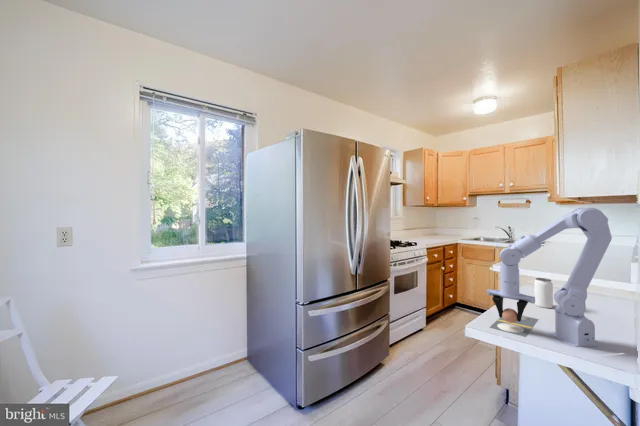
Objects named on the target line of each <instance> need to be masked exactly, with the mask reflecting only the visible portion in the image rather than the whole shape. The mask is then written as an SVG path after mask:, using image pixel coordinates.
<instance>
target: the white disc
mask: <svg viewBox="0 0 640 426" xmlns="http://www.w3.org/2000/svg"><path fill="white" fill-rule="evenodd" d="M497 327H498V328H499V329H501V330H504V331H507V332H506V333H508V332H512V333H522V332H524V329H523V328H521V327H519V326H516V325H513V324H507V323H500V324H498V325H497ZM504 331H503V332H504ZM512 333H511V334H512Z"/></svg>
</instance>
